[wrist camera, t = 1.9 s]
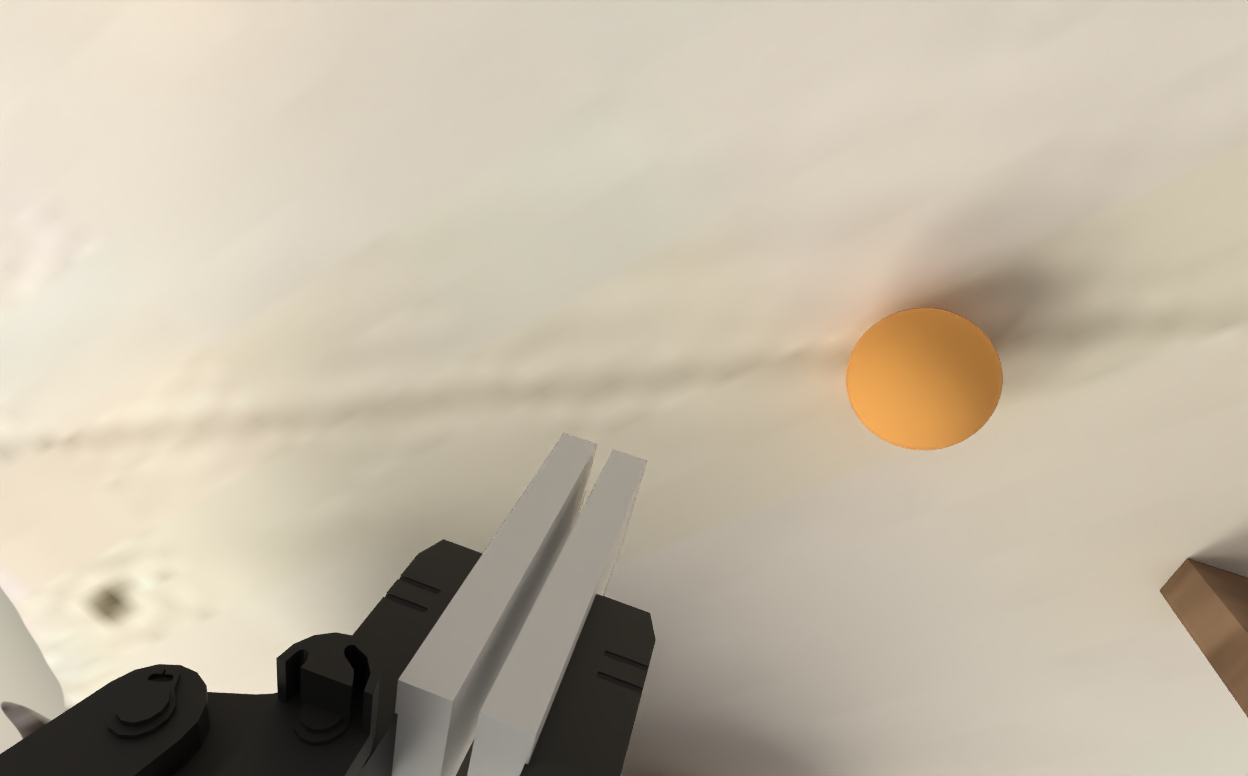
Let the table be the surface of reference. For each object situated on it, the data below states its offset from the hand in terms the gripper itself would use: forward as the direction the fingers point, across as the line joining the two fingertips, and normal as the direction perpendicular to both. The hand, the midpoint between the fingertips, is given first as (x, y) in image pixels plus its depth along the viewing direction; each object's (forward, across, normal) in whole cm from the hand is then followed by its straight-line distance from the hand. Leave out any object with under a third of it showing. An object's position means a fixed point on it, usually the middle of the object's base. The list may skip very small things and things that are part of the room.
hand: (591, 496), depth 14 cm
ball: (+14, -10, 0) cm, 17 cm away
